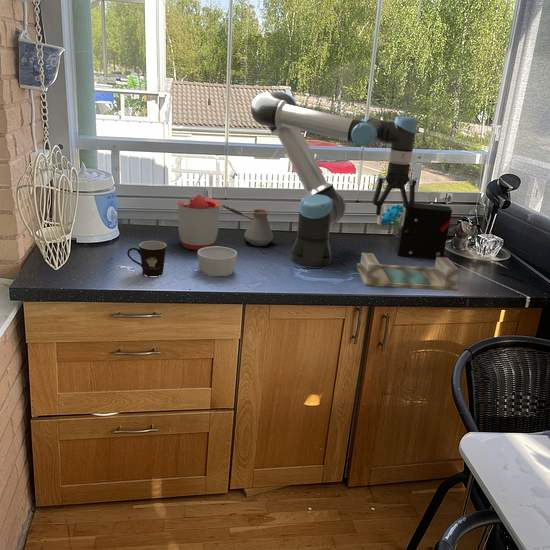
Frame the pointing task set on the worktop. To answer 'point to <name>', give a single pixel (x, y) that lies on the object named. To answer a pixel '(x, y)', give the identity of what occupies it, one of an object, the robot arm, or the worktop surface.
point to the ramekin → (217, 260)
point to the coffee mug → (151, 257)
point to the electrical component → (424, 231)
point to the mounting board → (408, 274)
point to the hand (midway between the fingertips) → (390, 224)
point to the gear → (392, 215)
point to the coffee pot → (256, 227)
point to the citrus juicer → (198, 222)
